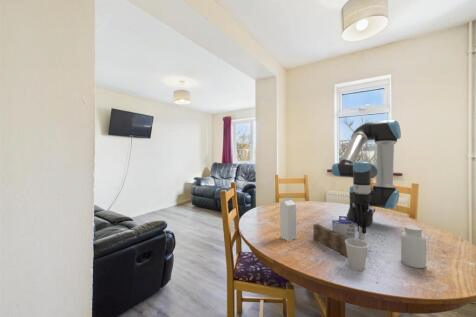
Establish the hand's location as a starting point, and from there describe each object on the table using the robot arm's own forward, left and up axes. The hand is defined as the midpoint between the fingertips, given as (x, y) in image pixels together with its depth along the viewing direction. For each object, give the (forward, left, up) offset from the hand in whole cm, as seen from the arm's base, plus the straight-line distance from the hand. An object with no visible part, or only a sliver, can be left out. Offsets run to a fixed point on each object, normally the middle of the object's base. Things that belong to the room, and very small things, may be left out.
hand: (362, 238), depth 108 cm
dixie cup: (+16, -21, -2) cm, 26 cm away
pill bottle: (+22, +2, -2) cm, 22 cm away
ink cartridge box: (0, -12, -2) cm, 12 cm away
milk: (-19, -31, -2) cm, 36 cm away
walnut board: (-2, -18, -2) cm, 18 cm away
